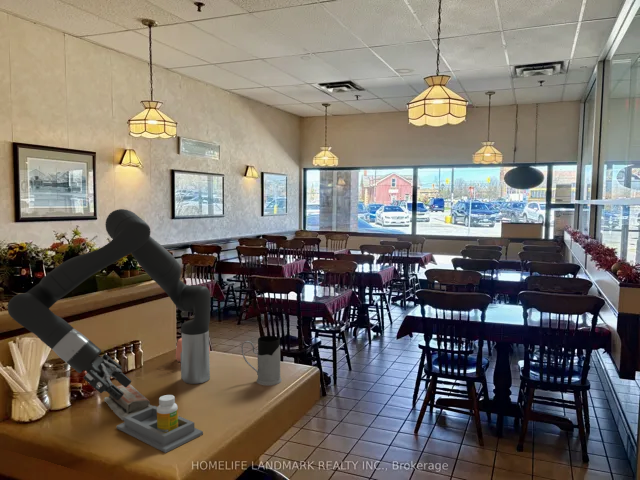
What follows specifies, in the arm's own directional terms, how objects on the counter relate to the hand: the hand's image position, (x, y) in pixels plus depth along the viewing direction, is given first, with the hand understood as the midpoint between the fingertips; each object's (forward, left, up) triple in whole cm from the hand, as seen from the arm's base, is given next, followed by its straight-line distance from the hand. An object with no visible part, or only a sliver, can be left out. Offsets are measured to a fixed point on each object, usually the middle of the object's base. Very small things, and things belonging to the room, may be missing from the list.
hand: (125, 390), depth 130 cm
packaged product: (-18, +12, -14) cm, 26 cm away
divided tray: (+3, +8, -13) cm, 16 cm away
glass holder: (0, +52, -13) cm, 53 cm away
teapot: (-36, +51, -14) cm, 63 cm away
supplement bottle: (+7, +7, -13) cm, 16 cm away
